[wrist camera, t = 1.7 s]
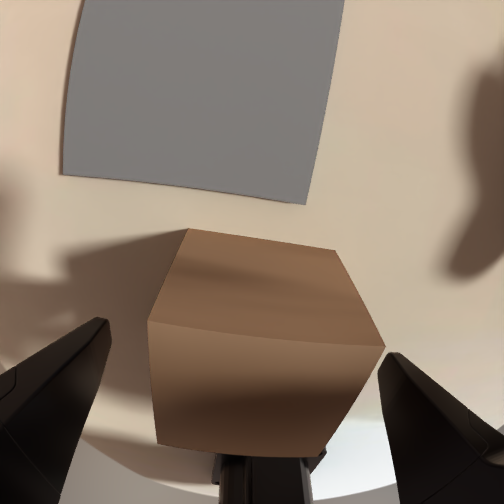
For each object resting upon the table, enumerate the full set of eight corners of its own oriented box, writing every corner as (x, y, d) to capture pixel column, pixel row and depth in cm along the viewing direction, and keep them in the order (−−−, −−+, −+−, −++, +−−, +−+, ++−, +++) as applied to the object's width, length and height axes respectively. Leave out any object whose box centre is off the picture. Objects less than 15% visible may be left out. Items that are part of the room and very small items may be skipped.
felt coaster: (303, 201, 10) (305, 205, 9) (68, 171, 9) (62, 174, 9) (345, -27, 6) (348, -31, 6) (104, -42, 6) (99, -46, 6)
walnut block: (299, 355, 13) (317, 456, 8) (181, 341, 12) (157, 443, 8) (334, 249, 11) (385, 346, 6) (188, 227, 10) (147, 320, 6)
